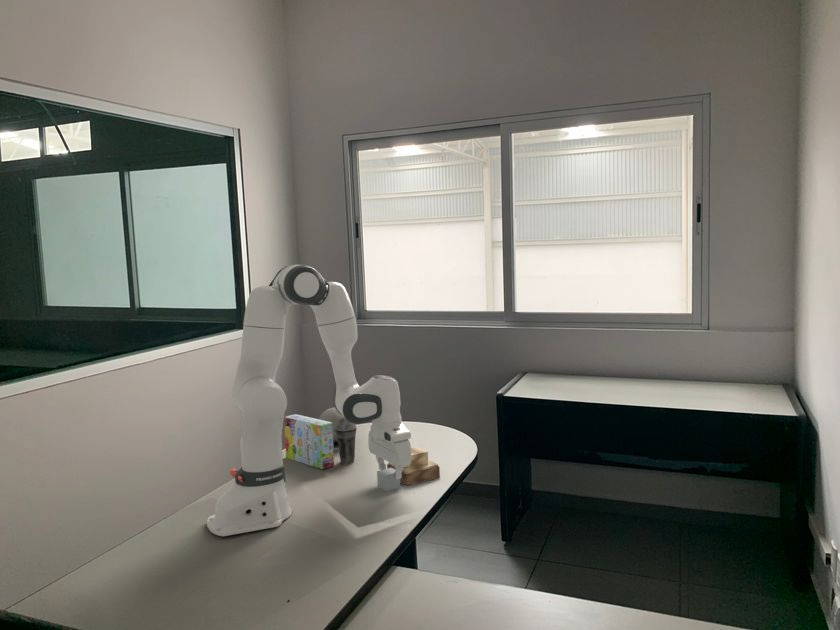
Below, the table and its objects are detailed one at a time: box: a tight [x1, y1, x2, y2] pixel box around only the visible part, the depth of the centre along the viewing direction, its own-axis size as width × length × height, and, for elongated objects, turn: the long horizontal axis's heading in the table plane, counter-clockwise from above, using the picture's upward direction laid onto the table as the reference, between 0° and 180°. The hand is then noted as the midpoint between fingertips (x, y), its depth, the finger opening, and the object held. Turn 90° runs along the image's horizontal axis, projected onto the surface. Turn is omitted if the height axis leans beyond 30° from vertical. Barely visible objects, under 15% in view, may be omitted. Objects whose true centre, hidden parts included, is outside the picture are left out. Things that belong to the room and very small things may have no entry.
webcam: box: [318, 406, 343, 453], centre depth 229 cm, size 13×13×15 cm
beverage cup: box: [335, 417, 358, 466], centre depth 211 cm, size 7×7×20 cm
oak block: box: [407, 446, 429, 469], centre depth 196 cm, size 7×7×4 cm
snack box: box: [283, 413, 335, 470], centre depth 214 cm, size 21×6×15 cm, turn 47°
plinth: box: [386, 459, 441, 486], centre depth 196 cm, size 12×12×4 cm
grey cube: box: [376, 468, 401, 493], centre depth 187 cm, size 5×5×5 cm
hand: (390, 473), depth 187 cm, fingers open, 8 cm apart
